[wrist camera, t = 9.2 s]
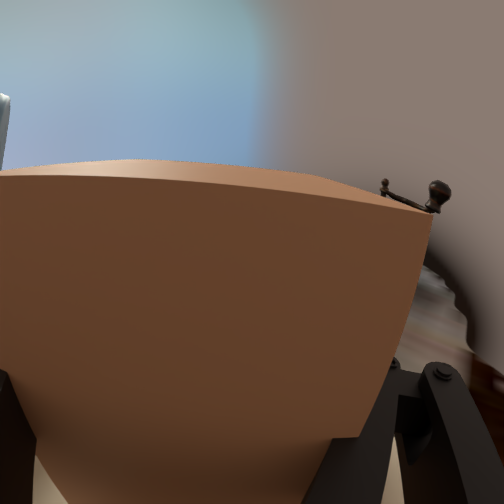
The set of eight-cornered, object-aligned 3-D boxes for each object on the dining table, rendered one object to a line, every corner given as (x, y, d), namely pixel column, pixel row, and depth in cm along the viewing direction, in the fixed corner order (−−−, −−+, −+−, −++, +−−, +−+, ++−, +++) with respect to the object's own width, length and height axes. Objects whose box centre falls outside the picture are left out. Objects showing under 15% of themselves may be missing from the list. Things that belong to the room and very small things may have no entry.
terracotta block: (75, 513, 7) (-41, 177, 4) (141, 374, 17) (138, 159, 13) (283, 553, 7) (433, 215, 4) (278, 393, 17) (315, 175, 13)
